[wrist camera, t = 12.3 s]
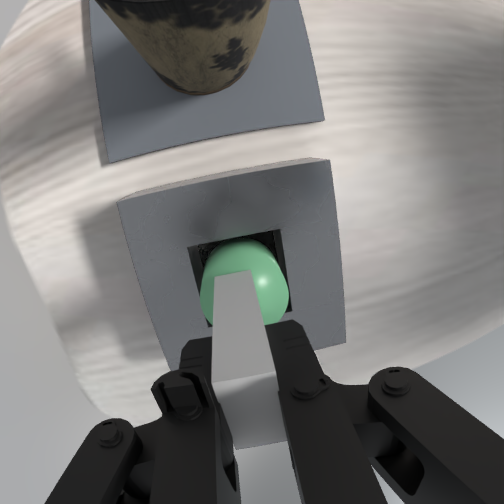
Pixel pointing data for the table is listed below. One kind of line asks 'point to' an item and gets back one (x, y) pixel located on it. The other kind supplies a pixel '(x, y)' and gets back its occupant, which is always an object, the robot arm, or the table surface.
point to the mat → (203, 106)
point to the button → (263, 272)
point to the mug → (192, 38)
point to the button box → (235, 225)
